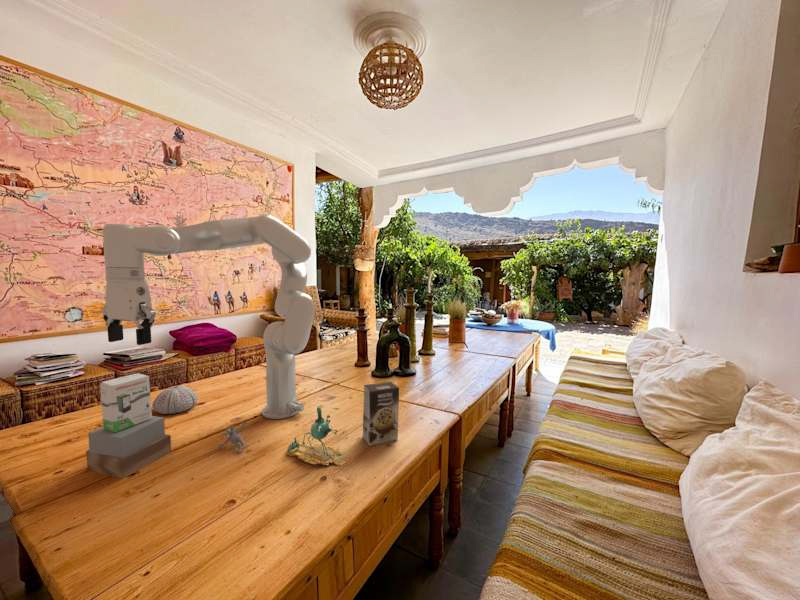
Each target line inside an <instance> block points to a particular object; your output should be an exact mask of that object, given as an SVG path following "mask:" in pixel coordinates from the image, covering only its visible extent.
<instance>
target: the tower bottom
mask: <svg viewBox="0 0 800 600" xmlns="http://www.w3.org/2000/svg"><path fill="white" fill-rule="evenodd" d="M171 438H172V437H171V435H170V434H167V433H165V436H163V437H161V438H160V439H158V440H156V441H154V442H152V443H150V444H148V445H146V446H144V447H143V448H141V449H139V450H137V451H135V452H133V453H131V454H129V455H128V456H126V457H124V458H118V457H113V456H107V455H102V454H96V453H90V450H89V449H88V450H86V451H85V453H86V467H87V470H89V471H93V472H97V473H99V474H104V475H107V476H111V477H116V478H118V479H125V478H128V477H129V476H131V475H133V474H135V473H136V472H139V471H140V470H141V469H143V468H145V467H146V466H149V465H151V464H152V463H154V462H156V461H158V460H160V459H162V458H163V457H165V456H167V455H169V454H171V453H172V439H171Z"/></svg>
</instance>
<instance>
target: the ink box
mask: <svg viewBox="0 0 800 600" xmlns="http://www.w3.org/2000/svg"><path fill="white" fill-rule="evenodd" d="M99 386H100V388H99V389H100V390H99V391H100V400H101V401H100V402H101V411H102V427H104V429H105V430H108V431H112V432H118V431H120V430H123V429H125V428H128V427H131V426H133V425H136V424H139V423H141V422H144V421H146V420H149V419H151V418H152V416H153V415H152V414H153V413H152V401H151V398H152V397H151V389H150V388H151V387H150V376H149V375H145V374H142V373H134V374H133V373H132V374H129V375H125V376H121V377H116V378H113V379H109V380H105V381H104V380H103V381H102V382H100V384H99Z"/></svg>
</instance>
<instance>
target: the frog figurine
mask: <svg viewBox="0 0 800 600" xmlns="http://www.w3.org/2000/svg"><path fill="white" fill-rule="evenodd" d="M316 411H317V419H315V421H314V422H313V423H312V424H311V427H310V431H309V432H304V434H303V435H304V436H303V441H302V442H300V441H299V440H297V437H294V441H291V443H290V444H289V445H288V446H287V447H288V448H287V449H286V451H285V455H286V456H291V457H297V459H300V460H302V461H304V462H305V463H308V464H310V465H311V464H312V465H322V466H329V464H334V465H336V466H339V467H340V466H341V467H342V466H344V464H346V463H347V461H346V459H345V458H343V456H342V455H343V453H342V452H341V451H340V450H338V449H337V448H336V446H333V445H326V444H325V443H324V442H323V441H322V440H323V439H326V437H328V435H329V433H330V432H331V433H333V434H334V435H337V434H338V430H337V429H335V430H333V427H331V428H330V426H329V425H330V422H331V419H330V418H331V416H330V415H329V414H328V415H327V416H326V420H325V418H323V417H322V409H321V407H320V406H317V407H316ZM307 435H310V436H309V437H308V438H307V441H308V442H305V438H306V436H307ZM310 439H311V441H313V440H318V441H319V442H317V441H316V442H311V441H310Z"/></svg>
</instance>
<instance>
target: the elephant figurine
mask: <svg viewBox="0 0 800 600" xmlns="http://www.w3.org/2000/svg"><path fill="white" fill-rule="evenodd" d="M247 423H248V422H246V421H245V422H244V423H241V424H242V425H241V426H240V427H239V428H237V429H236V430H234V429H235V424H232V425H231V426H230V427H227V428H226V429H225V431H224V432H223V433H222V436H225V437H227V436H228V437H227V438H226V439H225V441H224V442H223V443H222V444H219V447H218V449H222V448H223V447H224V446H225V445H226V444H227V443H229V441H230V443H231V444H232V445H233V446H234V447H235V448H236V450H237V452H238V453H240V454H241V453H242V452H243V449H246V448H247V446H248V445H247V444H246V443H245V441H244V440H243V438H242V435H241V434H240V431H242V429H243V428H244V427H246V425H247ZM239 444H240V445H241V446H240V445H239ZM241 447H242V448H243V449H242V448H241Z"/></svg>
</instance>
